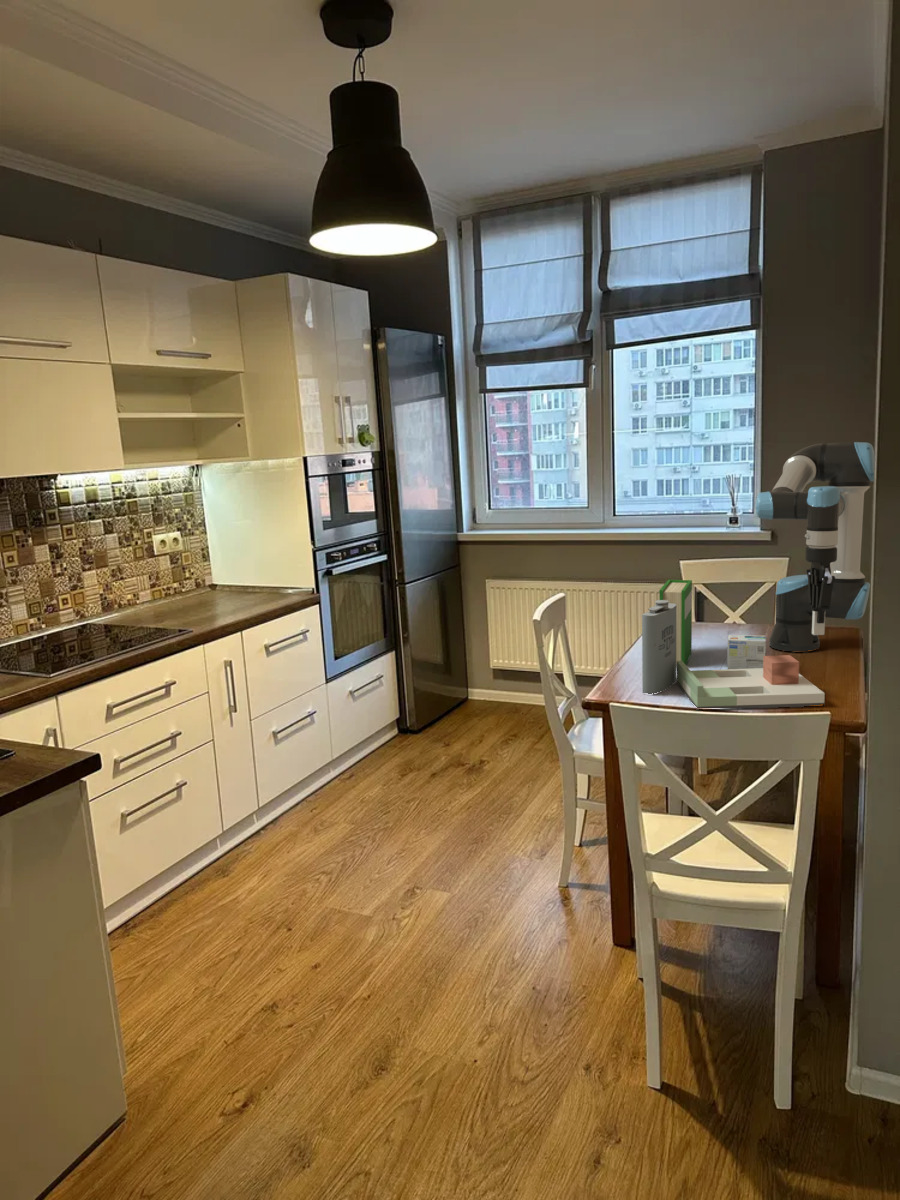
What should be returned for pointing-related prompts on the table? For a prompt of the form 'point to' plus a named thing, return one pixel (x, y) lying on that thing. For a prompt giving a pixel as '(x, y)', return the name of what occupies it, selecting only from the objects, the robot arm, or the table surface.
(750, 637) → the light bulb box
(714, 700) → the box
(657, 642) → the flask
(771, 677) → the block
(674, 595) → the hardback book
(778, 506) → the robot arm
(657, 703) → the table surface
